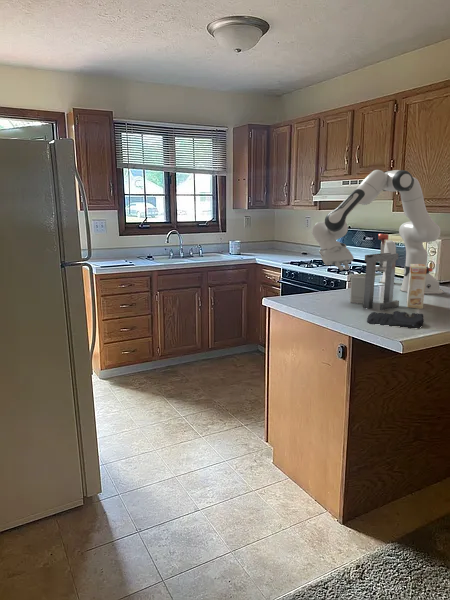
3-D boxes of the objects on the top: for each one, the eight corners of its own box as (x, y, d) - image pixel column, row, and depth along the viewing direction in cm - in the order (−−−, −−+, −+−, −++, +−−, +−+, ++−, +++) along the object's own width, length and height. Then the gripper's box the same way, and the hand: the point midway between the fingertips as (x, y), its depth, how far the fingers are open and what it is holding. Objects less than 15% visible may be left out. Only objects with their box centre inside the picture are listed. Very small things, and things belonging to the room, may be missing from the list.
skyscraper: (376, 282, 291) (380, 237, 285) (386, 281, 294) (390, 237, 289) (386, 284, 284) (390, 238, 278) (396, 283, 287) (400, 238, 281)
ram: (373, 270, 219) (375, 234, 216) (379, 270, 222) (382, 233, 219) (382, 272, 216) (385, 234, 212) (388, 271, 218) (391, 234, 215)
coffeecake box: (423, 309, 217) (427, 267, 213) (406, 307, 219) (410, 267, 215) (421, 302, 231) (425, 264, 227) (406, 301, 233) (409, 263, 229)
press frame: (361, 307, 219) (365, 254, 214) (384, 302, 230) (388, 252, 225) (378, 311, 211) (383, 256, 206) (402, 306, 223) (406, 254, 217)
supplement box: (365, 303, 228) (367, 278, 225) (350, 302, 229) (351, 277, 226) (364, 300, 235) (366, 276, 232) (349, 299, 236) (351, 275, 234)
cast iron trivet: (369, 316, 203) (370, 306, 202) (423, 322, 194) (424, 311, 193) (364, 324, 189) (365, 313, 188) (422, 331, 181) (424, 319, 180)
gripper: (321, 245, 233) (335, 267, 227) (347, 243, 245) (361, 264, 239) (314, 253, 237) (328, 274, 232) (340, 251, 249) (353, 271, 244)
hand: (345, 269), depth 236 cm, fingers open, 3 cm apart
